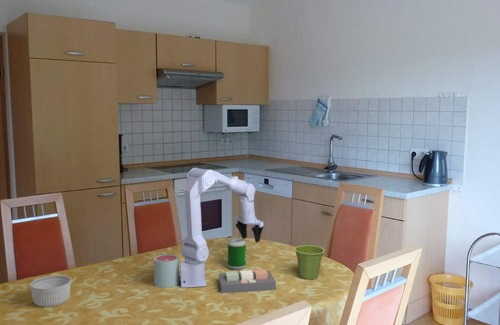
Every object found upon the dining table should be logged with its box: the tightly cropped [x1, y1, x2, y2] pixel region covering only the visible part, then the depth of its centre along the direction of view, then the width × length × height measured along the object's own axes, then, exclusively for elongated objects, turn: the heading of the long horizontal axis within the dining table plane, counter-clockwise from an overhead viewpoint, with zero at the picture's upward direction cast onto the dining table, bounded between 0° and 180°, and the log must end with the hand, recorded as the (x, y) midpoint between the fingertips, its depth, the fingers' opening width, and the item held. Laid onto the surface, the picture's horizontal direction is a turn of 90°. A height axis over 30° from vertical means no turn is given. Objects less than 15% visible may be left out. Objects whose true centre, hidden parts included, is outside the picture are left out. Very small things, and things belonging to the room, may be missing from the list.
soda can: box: [227, 237, 247, 271], centre depth 192 cm, size 8×8×12 cm
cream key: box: [239, 269, 253, 280], centre depth 173 cm, size 4×4×4 cm
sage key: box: [225, 270, 239, 281], centre depth 172 cm, size 4×4×4 cm
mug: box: [153, 253, 180, 289], centre depth 177 cm, size 14×9×10 cm
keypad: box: [218, 270, 277, 294], centre depth 173 cm, size 20×12×3 cm, turn 99°
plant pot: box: [294, 244, 325, 280], centre depth 182 cm, size 12×12×11 cm
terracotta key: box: [253, 269, 268, 280], centre depth 174 cm, size 4×4×4 cm
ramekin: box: [29, 274, 72, 308], centre depth 159 cm, size 13×13×7 cm
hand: (251, 239), depth 197 cm, fingers open, 7 cm apart
